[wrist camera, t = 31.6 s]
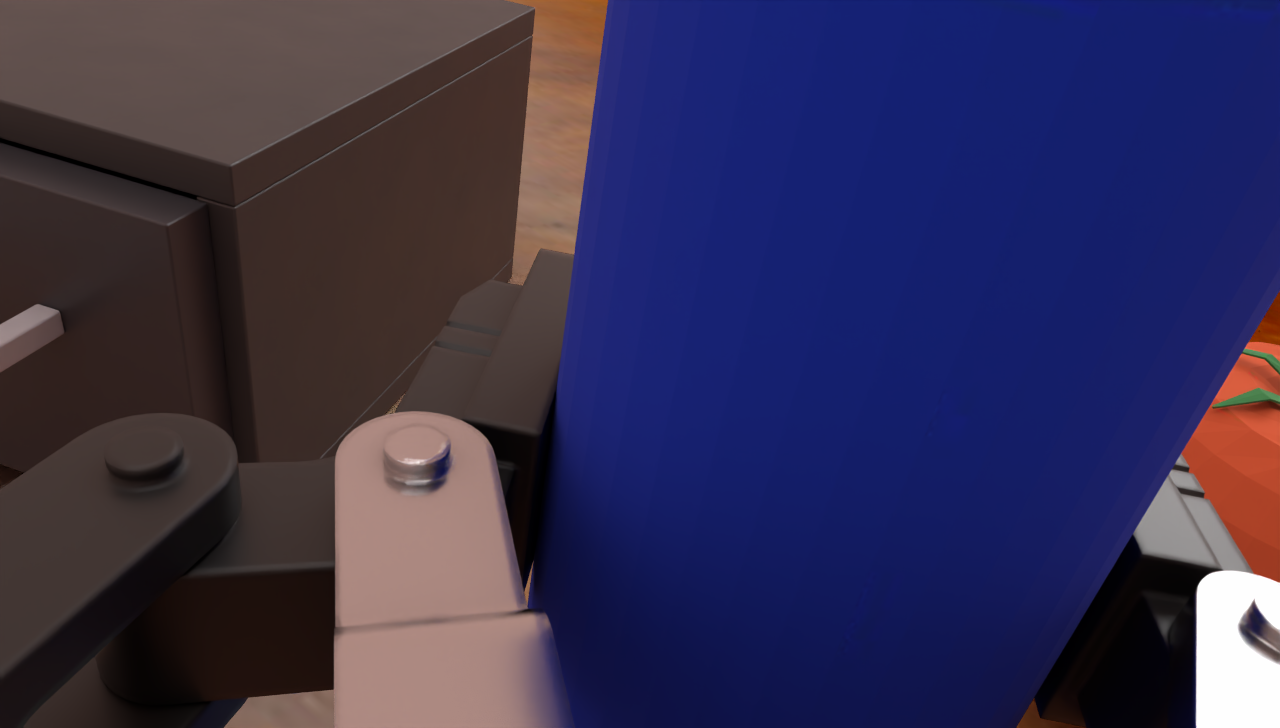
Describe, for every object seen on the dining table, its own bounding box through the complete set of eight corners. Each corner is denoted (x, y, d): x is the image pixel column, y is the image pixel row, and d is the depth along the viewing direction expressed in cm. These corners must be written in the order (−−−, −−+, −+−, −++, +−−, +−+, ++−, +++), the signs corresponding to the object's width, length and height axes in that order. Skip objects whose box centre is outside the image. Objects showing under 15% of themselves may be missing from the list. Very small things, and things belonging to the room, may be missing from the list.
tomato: (948, 735, 22) (1135, 401, 17) (977, 484, 31) (1109, 203, 25) (1423, 929, 20) (1819, 617, 15) (1317, 602, 28) (1545, 323, 23)
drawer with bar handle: (73, 677, 19) (-26, 331, 14) (-406, 488, 21) (-631, 130, 16) (472, 279, 35) (487, 48, 30) (173, 191, 36) (143, -38, 32)
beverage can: (904, 990, 14) (1669, -167, 6) (620, 1260, 11) (1364, -337, 3) (685, 725, 17) (976, -260, 9) (421, 878, 14) (494, -385, 6)
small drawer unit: (266, 543, 24) (230, 165, 18) (-174, 387, 26) (-330, 6, 20) (511, 277, 37) (535, 7, 31) (203, 187, 39) (173, -81, 33)
